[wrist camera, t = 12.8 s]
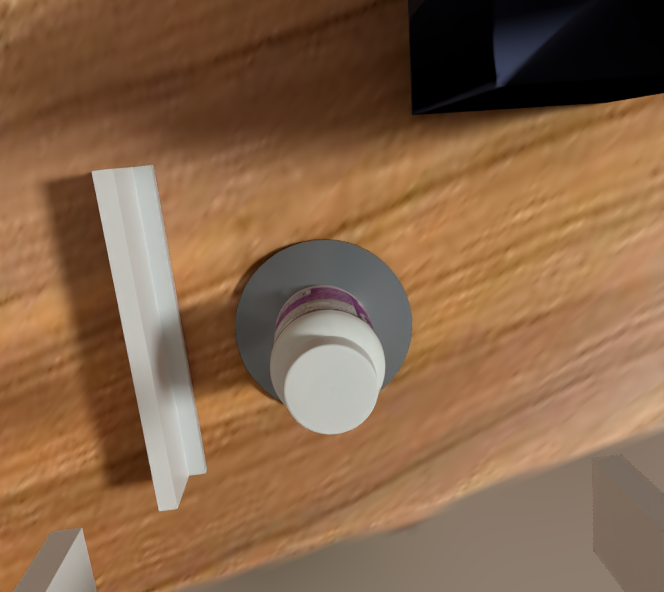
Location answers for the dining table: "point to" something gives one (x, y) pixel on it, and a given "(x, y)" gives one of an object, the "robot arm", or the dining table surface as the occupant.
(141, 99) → the dining table surface
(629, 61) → the vase
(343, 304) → the pill bottle
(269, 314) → the coaster
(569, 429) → the dining table surface
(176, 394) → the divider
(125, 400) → the dining table surface
